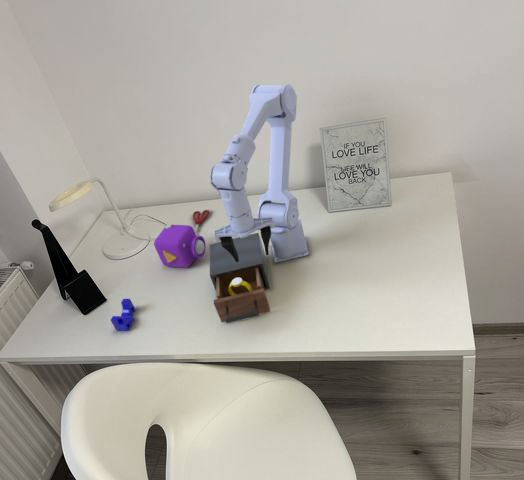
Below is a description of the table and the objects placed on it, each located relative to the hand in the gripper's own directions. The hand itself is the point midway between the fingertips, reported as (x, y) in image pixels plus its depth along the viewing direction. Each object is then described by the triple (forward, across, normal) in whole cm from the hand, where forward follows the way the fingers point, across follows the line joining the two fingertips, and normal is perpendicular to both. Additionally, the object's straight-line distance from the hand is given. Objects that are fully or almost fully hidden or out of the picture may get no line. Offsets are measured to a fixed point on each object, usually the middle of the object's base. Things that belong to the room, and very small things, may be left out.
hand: (252, 256), depth 136 cm
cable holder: (+11, -37, 0) cm, 38 cm away
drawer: (+10, -5, -7) cm, 13 cm away
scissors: (+10, -18, +36) cm, 42 cm away
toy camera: (+10, -21, +20) cm, 31 cm away
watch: (+9, -5, -5) cm, 11 cm away
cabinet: (+10, -5, +6) cm, 13 cm away
